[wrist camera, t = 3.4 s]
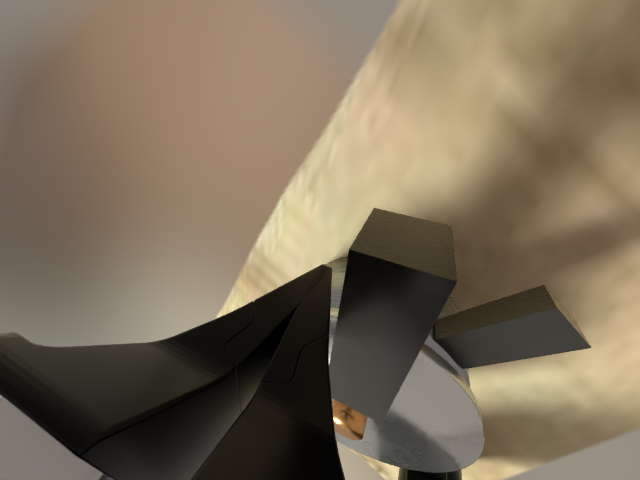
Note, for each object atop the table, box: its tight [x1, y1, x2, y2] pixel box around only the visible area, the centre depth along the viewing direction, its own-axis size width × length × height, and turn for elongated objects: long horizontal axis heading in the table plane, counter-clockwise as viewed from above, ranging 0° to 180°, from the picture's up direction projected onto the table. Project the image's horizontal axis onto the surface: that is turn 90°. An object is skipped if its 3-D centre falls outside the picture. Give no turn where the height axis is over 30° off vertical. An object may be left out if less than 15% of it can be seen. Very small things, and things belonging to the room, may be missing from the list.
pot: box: [327, 257, 591, 387], centre depth 17 cm, size 20×14×6 cm
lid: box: [329, 208, 485, 473], centre depth 13 cm, size 21×15×4 cm
